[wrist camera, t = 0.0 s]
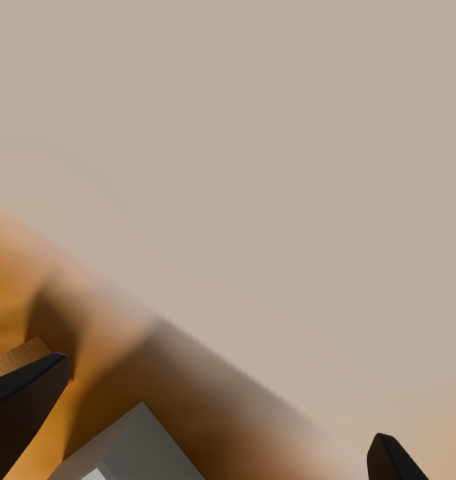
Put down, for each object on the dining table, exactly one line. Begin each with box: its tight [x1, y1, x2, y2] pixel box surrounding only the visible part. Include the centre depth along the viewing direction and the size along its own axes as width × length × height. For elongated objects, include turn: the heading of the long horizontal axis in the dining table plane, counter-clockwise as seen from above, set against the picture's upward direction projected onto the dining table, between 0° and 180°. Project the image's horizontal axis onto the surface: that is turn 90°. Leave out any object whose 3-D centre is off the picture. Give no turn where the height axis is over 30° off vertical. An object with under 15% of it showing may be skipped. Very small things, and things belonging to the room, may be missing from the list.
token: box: [0, 336, 74, 386], centre depth 25 cm, size 2×5×5 cm, turn 40°
